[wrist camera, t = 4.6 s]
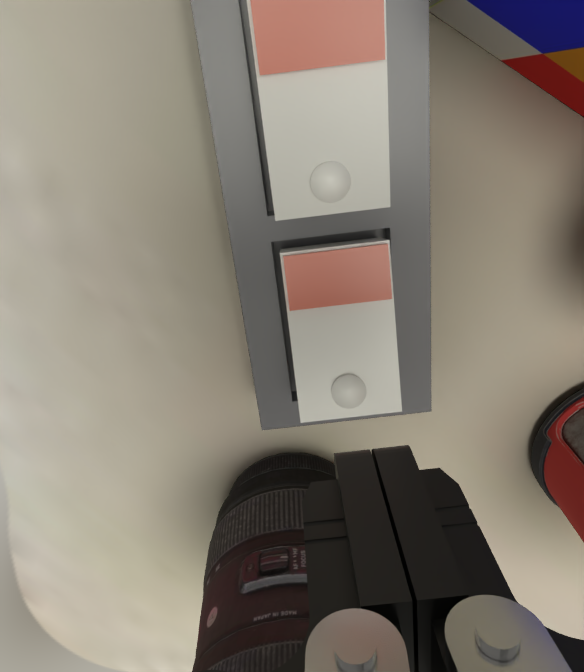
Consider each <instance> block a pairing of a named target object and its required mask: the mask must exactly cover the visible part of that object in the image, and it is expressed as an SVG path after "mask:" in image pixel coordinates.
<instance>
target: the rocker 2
mask: <svg viewBox="0 0 584 672" xmlns="http://www.w3.org/2000/svg"><path fill="white" fill-rule="evenodd" d="M280 259H281V267H282V275H283V283H284V291H285V299H286V308H287V316H288V324H289V332H290V340H291V348H292V357H293V365H294V373H295V381H296V389H297V398H298V406H299V414H300V422H301V423H304V422H313V421H322V420H331V419H340V418H349V417H358V416H367V415H376V414H385V413H394V412H402V403H401V390H400V376H399V363H398V349H397V335H396V322H395V308H394V295H393V281H392V267H391V254H390V240H388V239H385V238H382V237H376V238H368V239H360V240H351V241H343V242H335V243H326V244H318V245H310V246H301V247H293V248H285V249H281V250H280Z"/></svg>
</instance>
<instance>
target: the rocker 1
mask: <svg viewBox="0 0 584 672" xmlns="http://www.w3.org/2000/svg"><path fill="white" fill-rule="evenodd" d="M247 7H248V15H249V23H250V30H251V38H252V46H253V53H254V61H255V69H256V76H257V84H258V92H259V99H260V107H261V115H262V122H263V130H264V138H265V145H266V153H267V161H268V168H269V176H270V184H271V191H272V199H273V207H274V214H275V221H279V220H288V219H296V218H304V217H312V216H321V215H329V214H337V213H345V212H354V211H362V210H370V209H378V208H387V207H390V164H389V121H388V77H387V34H386V0H247Z"/></svg>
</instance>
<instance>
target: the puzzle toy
mask: <svg viewBox="0 0 584 672" xmlns="http://www.w3.org/2000/svg"><path fill="white" fill-rule="evenodd" d="M429 12H431V13H432V14H434V15H435V16H436V17H438V18H439V19H441V20H442V21H444V22H445V23H447V24H448V25H450V26H451V27H453V28H454V29H456V30H457V31H458V32H460V33H461V34H463V35H464V36H466V37H467V38H469V39H470V40H472V41H473V42H475V43H476V44H477V45H479V46H480V47H482V48H483V49H485V50H486V51H488V52H489V53H491V54H492V55H494V56H495V57H497V58H498V59H499V60H501V61H502V62H504V63H505V64H507V65H508V66H510V67H511V68H513V69H514V70H516V71H517V72H518V73H520V74H521V75H523V76H524V77H526V78H527V79H529V80H530V81H532V82H533V83H535V84H536V85H537V86H539V87H540V88H542V89H543V90H545V91H546V92H548V93H549V94H551V95H552V96H554V97H555V98H557V99H558V100H559V101H561V102H562V103H564V104H565V105H567V106H568V107H570V108H571V109H573V110H574V111H576V112H577V113H578V114H580V115H581V116H583V117H584V0H431V1H430V3H429Z"/></svg>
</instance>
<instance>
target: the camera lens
mask: <svg viewBox="0 0 584 672" xmlns="http://www.w3.org/2000/svg"><path fill="white" fill-rule="evenodd" d="M335 479H336V472H335V465H334V464H332V463H331V462H329V461H327V460H325V459H323V458H320V457H317V456H313V455H309V454H303V453H286V454H279V455H275V456H271V457H268V458H265V459H263V460H261V461H259V462H257V463H255V464H253V465H252V466H250V467H249V468H248V469H246V470H245V471H244V472H243V473H242V474H241V475H240V476H239V477H238V479H237V480H236V482H235V483H234V485H233V487H232V489H231V491H230V494H229V496H228V498H227V499H226V500H225V502H224V503H223V505H222V507H221V509H220V511H219V514H218V518H217V521H216V526H215V529H214V532H213V536H212V539H211V541H210V545H209V550H208V557H207V563H206V570H205V576H204V588H203V592H204V594H203V603H202V610H201V616H200V624H199V634H198V642H197V649H196V658H195V662H194V666H193V671H192V672H199V671H204V670H221V671H225V672H271V671H273V670H275V669H277V668H278V667H280V666H282V665H283V664H284V663H286V662H287V661H288V660H289V659H290V658H291V657H292V656H293V655H294V654H295V653H296V652H297V651H298V649H299V648H300V647H301V645H302V643H303V641H304V639H305V637H306V634H307V632H308V627H309V600H308V585H307V570H306V555H305V541H304V525H303V511H302V500H303V498H304V496H305V494H306V492H307V490H308V488H309V486H310V483H311V482H317V481H326V480H335Z"/></svg>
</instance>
